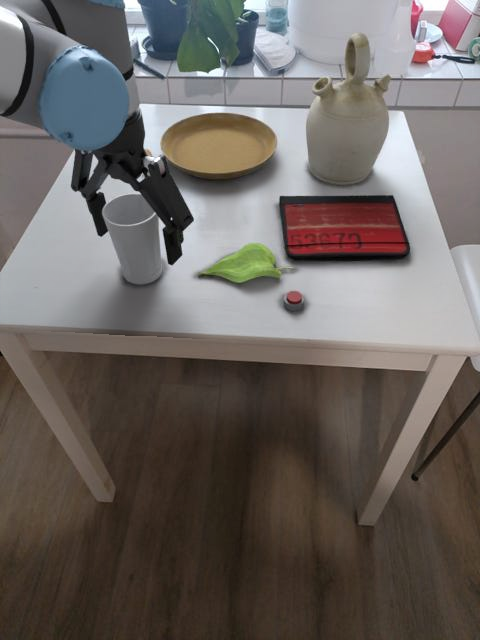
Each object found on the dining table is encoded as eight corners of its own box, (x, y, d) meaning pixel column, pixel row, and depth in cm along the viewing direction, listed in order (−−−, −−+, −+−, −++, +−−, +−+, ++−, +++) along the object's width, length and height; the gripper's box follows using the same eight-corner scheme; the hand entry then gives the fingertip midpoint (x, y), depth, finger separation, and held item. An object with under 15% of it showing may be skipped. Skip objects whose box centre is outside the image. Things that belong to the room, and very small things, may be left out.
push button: (284, 310, 73) (285, 303, 72) (282, 296, 75) (283, 289, 74) (304, 309, 73) (305, 303, 72) (302, 295, 75) (303, 288, 74)
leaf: (296, 285, 77) (297, 275, 75) (197, 287, 77) (196, 278, 75) (291, 248, 83) (292, 239, 81) (198, 250, 82) (198, 241, 81)
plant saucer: (271, 190, 94) (272, 175, 92) (149, 182, 96) (147, 167, 94) (280, 129, 110) (281, 115, 107) (175, 123, 112) (173, 109, 109)
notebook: (279, 194, 89) (394, 193, 89) (278, 204, 91) (390, 203, 91) (286, 254, 79) (415, 253, 79) (285, 265, 81) (411, 263, 81)
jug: (298, 187, 95) (312, 48, 76) (304, 147, 105) (317, 15, 86) (378, 194, 93) (413, 54, 74) (376, 152, 103) (406, 20, 84)
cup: (164, 288, 76) (154, 226, 67) (113, 287, 77) (96, 226, 68) (170, 254, 82) (161, 193, 73) (122, 254, 82) (107, 192, 73)
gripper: (213, 121, 57) (220, 257, 73) (56, 78, 66) (93, 208, 82) (176, 150, 53) (192, 288, 69) (13, 100, 62) (62, 233, 77)
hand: (139, 245), depth 75 cm, fingers open, 13 cm apart
